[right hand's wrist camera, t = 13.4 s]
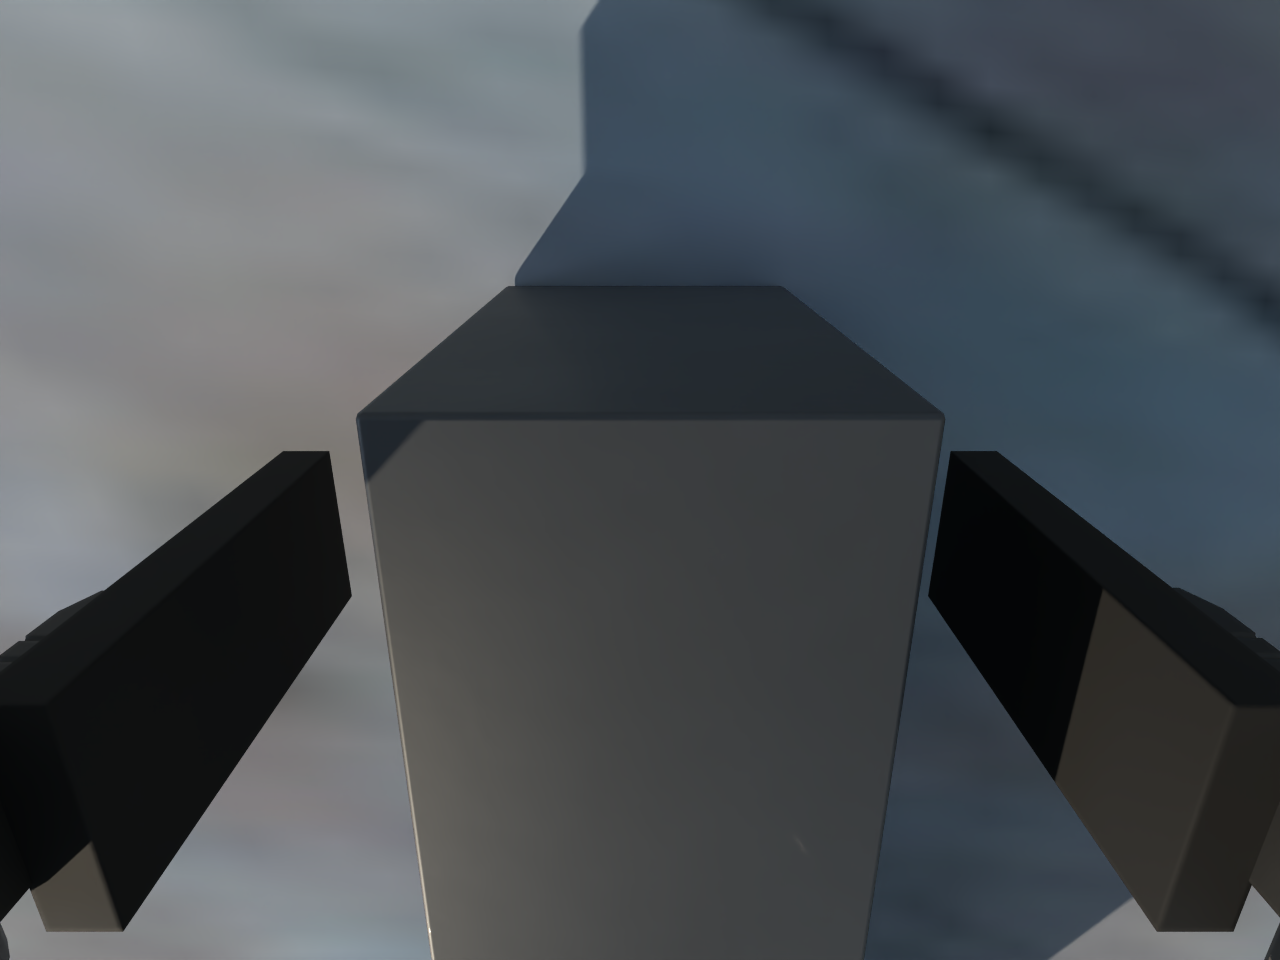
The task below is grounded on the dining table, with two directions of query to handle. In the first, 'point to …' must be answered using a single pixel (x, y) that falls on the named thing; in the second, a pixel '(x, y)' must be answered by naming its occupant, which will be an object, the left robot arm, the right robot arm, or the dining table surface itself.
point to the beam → (649, 620)
